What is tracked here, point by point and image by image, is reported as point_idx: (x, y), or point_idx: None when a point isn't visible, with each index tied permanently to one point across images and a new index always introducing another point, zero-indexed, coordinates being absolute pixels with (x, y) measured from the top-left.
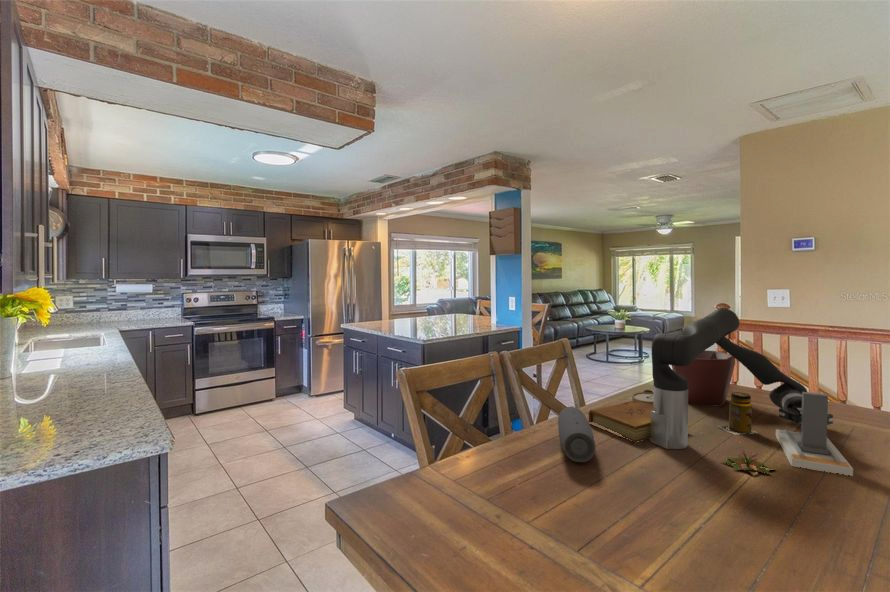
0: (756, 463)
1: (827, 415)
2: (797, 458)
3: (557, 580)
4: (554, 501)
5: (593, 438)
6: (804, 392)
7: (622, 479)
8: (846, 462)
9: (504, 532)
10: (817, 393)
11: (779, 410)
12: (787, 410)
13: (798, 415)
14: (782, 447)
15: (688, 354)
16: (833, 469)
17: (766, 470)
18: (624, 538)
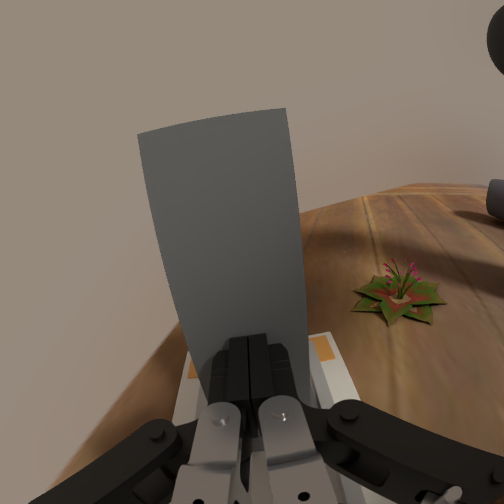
0: (395, 311)
1: (71, 494)
2: (317, 337)
3: (387, 190)
4: (445, 201)
5: (494, 192)
6: (272, 111)
7: (455, 221)
8: (185, 380)
9: (429, 191)
10: (189, 123)
11: (499, 464)
12: (445, 479)
13: (333, 410)
14: None
15: (489, 50)
16: None
17: (366, 293)
18: (390, 201)
